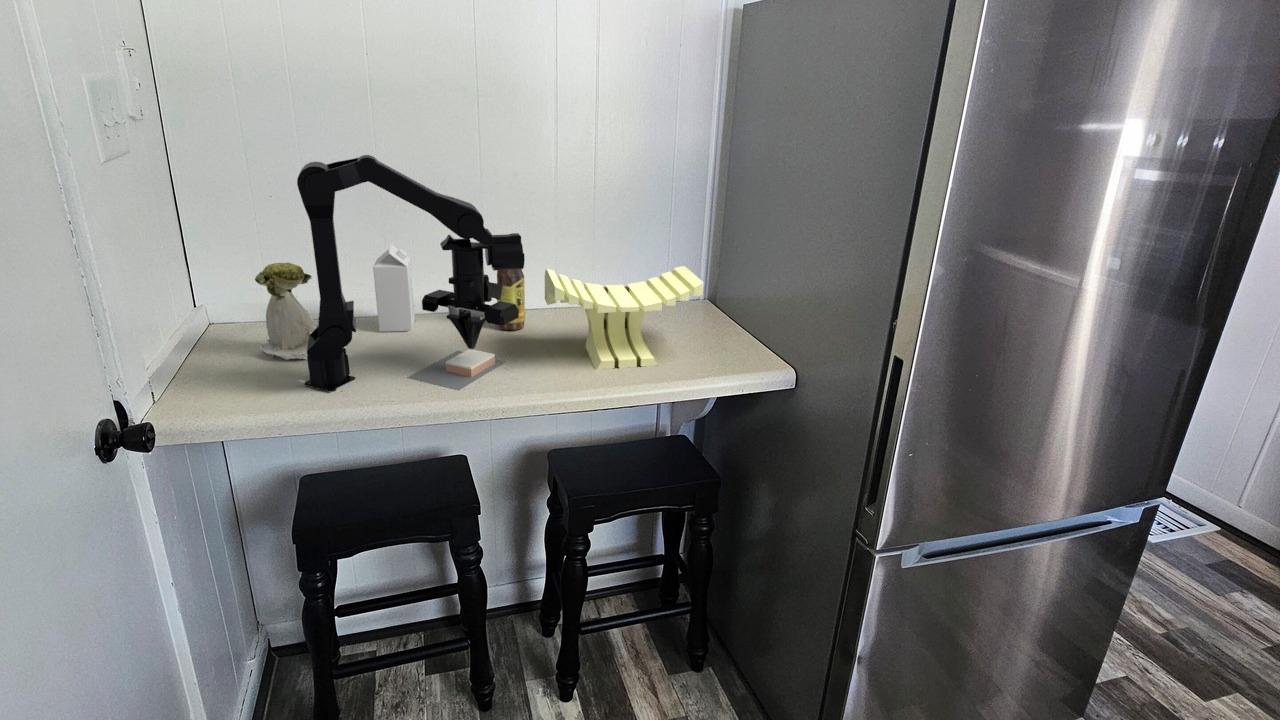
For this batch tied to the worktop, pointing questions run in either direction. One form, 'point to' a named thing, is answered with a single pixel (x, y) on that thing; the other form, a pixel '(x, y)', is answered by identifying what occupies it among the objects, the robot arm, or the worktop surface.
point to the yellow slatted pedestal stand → (621, 312)
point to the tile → (470, 362)
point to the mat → (449, 374)
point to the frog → (285, 311)
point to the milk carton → (394, 291)
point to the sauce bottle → (513, 295)
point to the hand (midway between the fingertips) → (471, 348)
